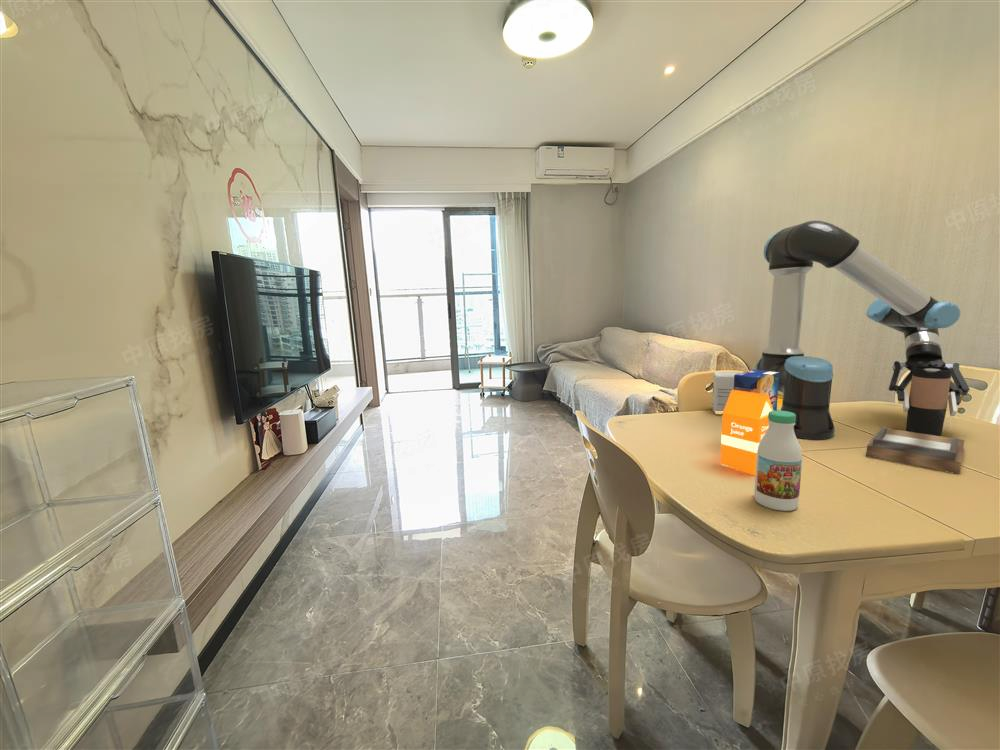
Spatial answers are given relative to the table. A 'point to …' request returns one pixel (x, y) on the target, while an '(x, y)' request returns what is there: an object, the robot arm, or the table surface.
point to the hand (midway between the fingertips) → (929, 411)
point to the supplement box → (722, 389)
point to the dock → (917, 449)
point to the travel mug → (928, 399)
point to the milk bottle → (779, 464)
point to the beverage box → (759, 384)
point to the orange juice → (744, 429)
